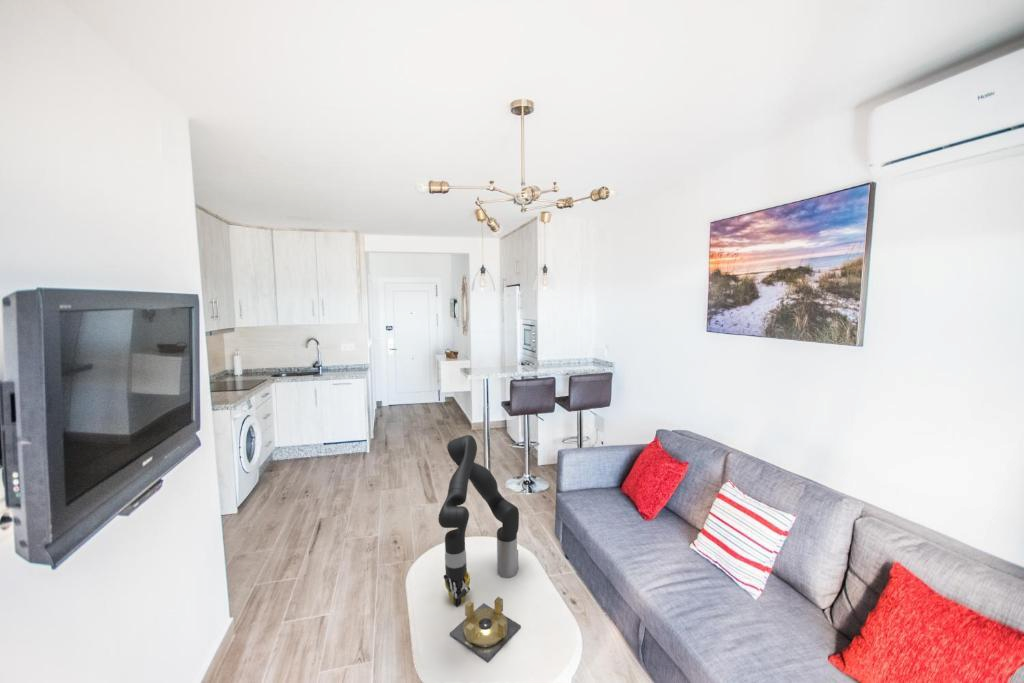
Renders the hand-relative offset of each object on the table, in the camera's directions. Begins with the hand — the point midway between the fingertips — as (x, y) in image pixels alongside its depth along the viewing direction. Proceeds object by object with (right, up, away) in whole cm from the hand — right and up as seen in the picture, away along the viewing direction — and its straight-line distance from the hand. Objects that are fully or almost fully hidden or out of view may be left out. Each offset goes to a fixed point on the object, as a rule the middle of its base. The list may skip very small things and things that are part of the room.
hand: (457, 604), depth 149 cm
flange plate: (+10, -15, +8) cm, 20 cm away
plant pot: (-3, -14, +26) cm, 29 cm away
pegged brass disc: (+10, -14, +8) cm, 19 cm away
